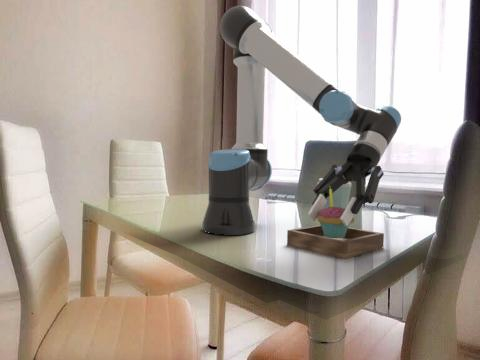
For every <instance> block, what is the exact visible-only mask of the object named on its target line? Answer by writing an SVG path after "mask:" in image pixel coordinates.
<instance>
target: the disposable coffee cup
mask: <svg viewBox="0 0 480 360" xmlns="http://www.w3.org/2000/svg"><path fill="white" fill-rule="evenodd" d="M323 178H324V177H321V178H318V181H317V183H316V186H317V185H318V184H319V183H320V181H321V180H322V179H323ZM351 190H352V182H351V181H349V182H348V183H347V184H343V185H342V186H341V187H339V188H338V189H337V190H336V191H335V192H333V193H332V197H333V207H341V208H345V209H346V207H347V205H348V204H349V202H350V195H351ZM326 200H327V202H326V204H325V206H324V207H323V209H325V208H327V207H331V205H330V196H329V197H327V198H326ZM323 209H322V210H323Z"/></svg>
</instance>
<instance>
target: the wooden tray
mask: <svg viewBox="0 0 480 360" xmlns="http://www.w3.org/2000/svg"><path fill="white" fill-rule="evenodd" d="M286 238H287V239H286V241H287V242H286V243H287V245H288V246H293V247H294V248H295V247H296V248H300V249H303V250H307V251H311V252H315V253H319V254H322V255H326V256H331V257H335V258H337V259H342V260H346V259H349V258H352V257H357V256H360V255H363V253H364V254H367V253H366V252H368V253H370V251H371V252H374V251H373V250H375V251H377V250H376V249H378V250H380V249H379V248H382V247H383V248H384V242H385V241H384V240H385V233H382V232H377V231H373V230H365V229H361V228H355V227H350V226H349V227H348V229H347V231H346V234H345V237H344V238H329V237H326V236H324V233H323V229H322V227H321V224H317V225H312V226H311V225H310V226H305V227H299V228H292V229H287V236H286ZM383 248H382V249H383Z"/></svg>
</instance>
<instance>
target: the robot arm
mask: <svg viewBox="0 0 480 360" xmlns="http://www.w3.org/2000/svg"><path fill="white" fill-rule="evenodd" d="M219 24H220V25H219V30H220V35H221V37H222V39H223V41H224V42H225V43H226V44H227V45H228V46H230V47H231V48H232V51H233V52H232V53H233V54H232V56H233V57H232V58H233V59H232V60H233V61H232V62H233V64H234V65H235V66H236V67H237V85H236V87H237V90H236V91H237V95H236V98H237V100H236V104H237V105H236V136H235V137H236V140H235V141H236V142H235V144H234V145H233V146H232V147H231V149H230V148H228V149H219V150H218V149H217V150H213V151H212V152H211V153H210V154H209V161H208V166H207V167H208V204H207V207H206V210H205V212H204V213H205V214H204V217H203V220H202V224H201V226H202V227H201V231H202V230H203V231H202V232H204V231H206V232H209V233H208V234H210V233H214V234H213V235H217V234H224V235H223V236H240V235H241V236H243V235H248V234H252V233H254V232H255V231H256V230H255V229H256V228H255V227H256V225H255V223H256V222H255V221H254V217H253V213H252V209H251V206H250V192H254V191H258V190H259V189H262V188H264V187H265V186H266V185H267V184H268V183H269V182H270V180H271V177H272V172H273V169H272V164H271V162H270V161H269V159H268V153H269V151H268V148H267V146H265V145H264V120H265V118H264V117H265V115H264V113H265V81H266V80H265V76H266V72H265V71H266V70H268V71H269V72H270V73H271V74H272V75H274V76H275V77H276V78H277V79H278V80H279V81H281V82H282V83H283V84H284V85H285V86H286V87H288V88H289V89H290V90H291V91H292V92H293V93H295V94H296V95H297V96H298V97H300V98H301V99H302V100H303V101H304V102H305V103H307V104H308V106H310V107H312V108H313V109H314V110H315V111H316V112H317V113H318V114H319V115H321V117H322V118H323V120H324V121H325V122H327V123H329V125H332V126H333V127H334V126H335V127H338V128H341V129H343V130H346V131H348V132H352V133H354V134H356V135H359V137H358V138H357V140H356V141H355V142H354V145H353V146H352V147H351V149H350V151H349V153H348V154H347V157H346V161H345V162H344V163H343V164H342V165H340V166H337V164H332V166H331V168H330V169H329V171H328V172H327V173H326V175H325V176H324V177H322V178H323V179H322V180H321V181H320V183H319V184H318V185H317V184H316V186H315V187H314V188H313V190H312V191H313V193H314V194H315V196H316V197H315V198H314V200H313V201H312V203H311V205H312V206H311V208H310V210H309V211H308V213H307V215H308V216H309V218H310V219H311V221H312V222H316V220H317V218H318V216H317V214H318V213H319V212H320V211H321V210H322V209H323V207H324V206H325V204H326V202H327V200H326V198H327V197H329V196H330V194H329V189H330V188H331V189H332V193H333V192H335V191H336V190H337V189H338V188H339V187H341V186H342V185H343V184H347V183H348V182H349V181H350V182H355V184H356V185H355V189H356V191H355V193H356V194H354V195H355V197H354V196H352V197H351V198H350V199H349V202H348V205H347V207H346V209H345V211H344V212H343V214H342V216H341V218H340V220H341V222H342V223H343V225H344V226H345V227H348V225H349V223H350V221H351V220H352V218H353V216H354V217H355V215H358V214H359V212H360V211H361V209H362V206H363V205H365V204H366V203H367V204H370V205H371V204H373V203H374V202H375V198H376V193H377V190H378V188H379V187H378V186H379V184H380V181H381V178H383V176H384V171H383V169H382V168H381V165H378V164H379V162H380V161H381V159H382V157H383V155H384V153H385V152H386V150H387V148H388V147H389V146H390V143H391V141H392V140H393V138H394V136H395V135H396V133H397V131H398V128H399V127H400V125H401V123H402V122H401V121H402V116H401V115H402V114H401V113H400V112H399V110H397V108H395V107H394V106H391V105H381V106H379V107H377V108H376V109H372V108H369V107H365V106H362V105H360V104H358V103H356V102H354V101H353V99H352V97H351V96H350V95H349V94H348V93H346V92H345V91H343V90H341V89H340V88H339V87H337V86H336V85H335V84H333V83H332V82H331V81H330V80H329V79H328V78H327V77H325V76H324V75H323V74H321V73H320V72H319V71H317V70H316V69H315V68H314V67H313V66H311V65H310V64H309V63H307V61H305V60H304V59H303V58H301V57H300V56H299V55H298V54H296V53H295V52H294V51H293V50H291V49H290V48H289V47H288V46H286V45H285V44H284V43H283V42H281V40H279V39H278V38H277V37H275V33H274V31H273V30H272V28H271V27H270V26H269V24H268V23H267V22H266V21H265V20H263V19H261V17H259V15H257V13H255V11H253V10H252V9H251V8H249V7H248V6H245V5H244V6H243V5H235V6H233V7H230V8H228V10H226V12H224V14H223V15H222V17H221V20H220V23H219ZM368 176H369V178H368V182H367V186H366V178H367V177H368ZM329 186H330V187H329ZM350 224H351V223H350ZM349 226H350V225H349ZM206 232H205V233H206Z"/></svg>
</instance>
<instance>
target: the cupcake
mask: <svg viewBox="0 0 480 360" xmlns="http://www.w3.org/2000/svg"><path fill="white" fill-rule="evenodd" d="M329 187H330V186H329ZM329 194H330V205H331V207H327V208H325V209H323V210H321V211H320V212H319V213H318V214H317V216H318V217H317V219H316V220H317V221H318V222H319V225H321V227H322V229H323V233H324V236H326V237H329V238H344V237H345V234H346V231H347V229H348V227H350V224H353V223H354V222H355V215H354V216H353V218H352V220H351V221H350V223H349V225H348V227H345V226H344V225H343V223H342V222H341V220H340V218H341V216H342V214H343V212H344V211H345V208H341V207H333V197H332V189H331V188H330V189H329Z"/></svg>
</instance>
